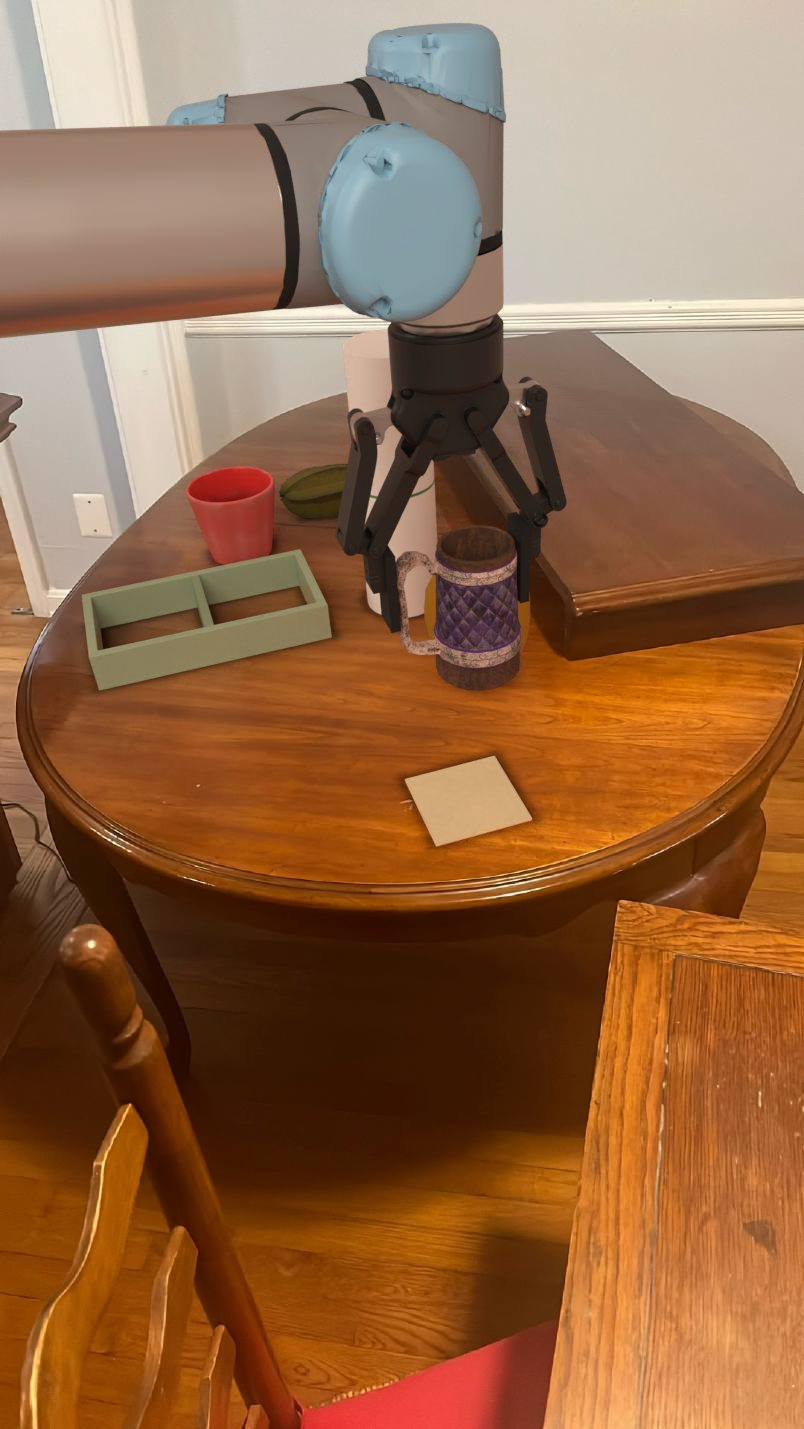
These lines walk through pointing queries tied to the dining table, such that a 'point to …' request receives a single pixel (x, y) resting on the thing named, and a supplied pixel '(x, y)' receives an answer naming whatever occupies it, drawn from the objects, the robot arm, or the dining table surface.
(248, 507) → the flower pot
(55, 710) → the dining table surface
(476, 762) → the coaster
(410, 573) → the container
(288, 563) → the holder
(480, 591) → the mug
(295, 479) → the fruit
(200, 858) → the dining table surface
